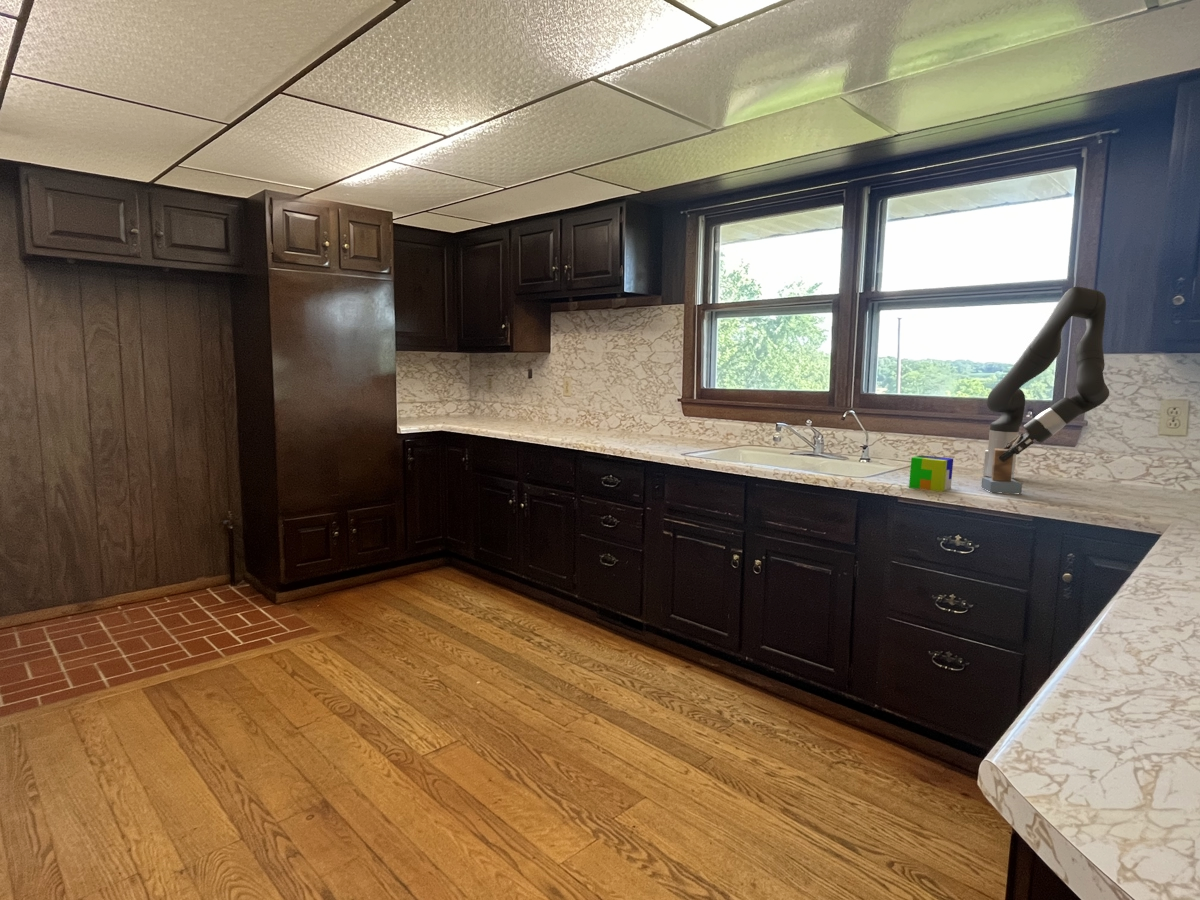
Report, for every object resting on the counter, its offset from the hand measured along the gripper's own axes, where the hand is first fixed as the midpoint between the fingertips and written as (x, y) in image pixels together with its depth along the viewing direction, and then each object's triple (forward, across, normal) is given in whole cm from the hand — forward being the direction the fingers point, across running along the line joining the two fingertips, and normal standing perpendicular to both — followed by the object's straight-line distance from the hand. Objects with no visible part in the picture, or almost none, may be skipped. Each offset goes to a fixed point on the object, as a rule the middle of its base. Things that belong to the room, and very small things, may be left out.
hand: (999, 458), depth 220 cm
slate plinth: (+7, 0, +9) cm, 11 cm away
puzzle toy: (+22, +6, -6) cm, 23 cm away
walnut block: (+4, 0, +6) cm, 7 cm away
